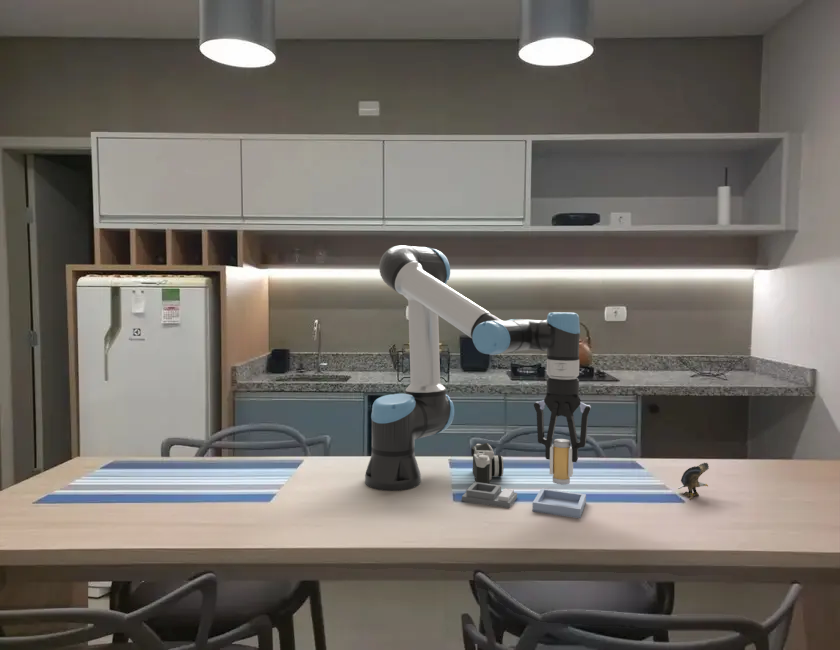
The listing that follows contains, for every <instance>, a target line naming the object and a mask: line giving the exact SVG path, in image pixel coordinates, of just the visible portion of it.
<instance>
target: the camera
mask: <svg viewBox="0 0 840 650" xmlns="http://www.w3.org/2000/svg"><path fill="white" fill-rule="evenodd" d="M470 452H471V454H470V455H471V457H472V473H473V478H474V482H479V483H487V484H490V481H491V480H492V478H493V477H499V478H502V477H503V476H504V469H505V468H504V467H505V466H504V457H503V456H502V455H500V454H499V455H495V453H494V450H493V448H492V446H491V445H490V444H489V443H488V442H486V443H482V444H481V443H476V444H475V445H474V446H471V451H470Z"/></svg>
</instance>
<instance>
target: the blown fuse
mask: <svg viewBox="0 0 840 650" xmlns="http://www.w3.org/2000/svg"><path fill="white" fill-rule="evenodd" d="M552 445H553V446H554V462H553V475H552V483H553V484H556V485H561V486H566V485H570V482H571V477H569V476H568V460H569V448H570V447H571V439H570V440H569V439H566V438H555V439H554V438H553V440H552Z"/></svg>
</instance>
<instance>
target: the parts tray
mask: <svg viewBox="0 0 840 650" xmlns="http://www.w3.org/2000/svg"><path fill="white" fill-rule="evenodd" d="M586 503H587V494H586V493H580V492H572V491H565V490H557V489H550V488H543V487H542V488H540V490H539V491H538V493H537V494H536V496H535V498H534V500H533V501H532V512H534V513H540V514H548V515H554V516H561V517H568V518H569V517H570V518H575V519H581V518H582V516H583V512H584V509H585V507H586Z"/></svg>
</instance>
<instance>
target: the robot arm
mask: <svg viewBox="0 0 840 650" xmlns="http://www.w3.org/2000/svg"><path fill="white" fill-rule="evenodd" d="M378 268H379V270H378V271H379V274H380V277H381V279H382V280H383V282H384V283H385V284H386V285H387V286H388V287H389V288H391V289H392V290H393V291H395V292H396V293H398V294H399V295H402V296H403V297H404V298H405V299H406V300H407V303H408V304H407V305H408V306H407V307H408V308H407V309H408V336H409V337H408V341H409V342H408V343H409V365H410V366H409V374H410V383H409V385H408V386H407V387H406V388H405V393H394V394H386V395H382V396H380V397H378V398H376V399H375V400H374V402H373V404H372V407H371V414H370V418H371V456H370V459H369V462H368V465H367V468H366V471H365V474H364V484H365V485H366V486H367V487H369V488H371V489H374V490H378V491H387V492H397V491H407V490H411V489H414V488H417V487H419V485H420V484H421V482H422V480H421V477H422V476H421V474H422V473H421V472H420V468H419V465H418V461H417V459H416V455H415V443H416V442H415V440H418V439H422V438H426V437H429V436H436V435H437V434H440V433H442V432H444V431H446V430H447V429H449V427H450V426H451V425H452V423H453V420H454V417H455V406H454V402H453V400H451V397H450V395H448V394H447V391H446V390H447V388H446V387H445V385H443V384H442V382H441V364H440V359H441V357H440V331H439V330H440V329H439V324H440V323H439V317H440V318H441V319H443V320H444V321H446V322H447V323H448V324H450V325H451V326H453V327H455V328H456V329H458V330H459V331H461V332H462V333H463V334H464V335H466V336H468V337H469V338H470V339H472V342H473V345H474V347H475V348H476V350H477V351H478V352H479V353H481V354H485V355H500V354H505V353H512V352H513V353H514V352H519V351H520V352H521V351H543V352H546V375H547V378H546V389H545V390H546V392H545V397H544V399H543V400H537V401H535V402H534V403H533V407H534V410H535V412H536V427H537V428H536V429H537V433H536V434H537V442H538V443H539V444H542V445H543V446H545V455H544V457H545V460H549V475H552V476H553V462H554V446H553V440H554V434H555V429H556V425H557V420H558V417H565V418H566V422H567V426H568V428H567V429H568V432H569V439H570V448H569V460H568V476H569V477H570V478H571V477H573V474H574V463H577V462H578V459H579V449H581V448H584V447H586V444H587V436H588V424H589V422H588V421H589V414H590V412H591V410H592V405H591V404H586V403H584V402H582V401H581V397H580V393H579V392H580V379H579V378H578V377H579V376H580V340H581V339H580V338H581V337H580V335H581V328H580V316H579V314H578V313H576V312H569V311H568V312H562V311H559V312H557V311H554V312H553V311H552V312H548V314H547V317H546V319H524V318H512V319H507V320H502V319H500V317H497V316H496V315H494V314H492V313H491V312H489V311H488V310H487V309H485V308H484V307H482V306H480V305H479V304H477V303H475V302H474V301H472V300H471V299H469V298H467V297H466V296H464V295H463V294H462V293H460V292H458V291H456V290H455V289H453V288H452V287H450V286H448V285H447V283H448V281H449V280H450V276H451V266H450V263H449V260H448V257H447V256H446V255H445V254H444V253H443V251H440V250H438V249H436V248H432V247H428V246H427V247H426V246H413V245H412V246H411V245H405V244H404V245H402V244H400V245H395V246H391V247H390V248H388V249H387V250H386V251H385V252H384V253H383V254H382V256H381V258H380V260H379V266H378ZM545 406H546V407H547V408H548V410H549V411H550V419H549V424H548V430H547V434H546V437H545V418H544V416H545V415H544V413H545V412H544V409H545ZM578 408H580V413H582V414H581V422H580V433H579V434H580V436H579V441H578V437H577V436H578V435H577V430H576V425H575V423H576V422H575V419H574V418H575V416H574V413H575V412H576V410H577V409H578Z"/></svg>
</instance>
